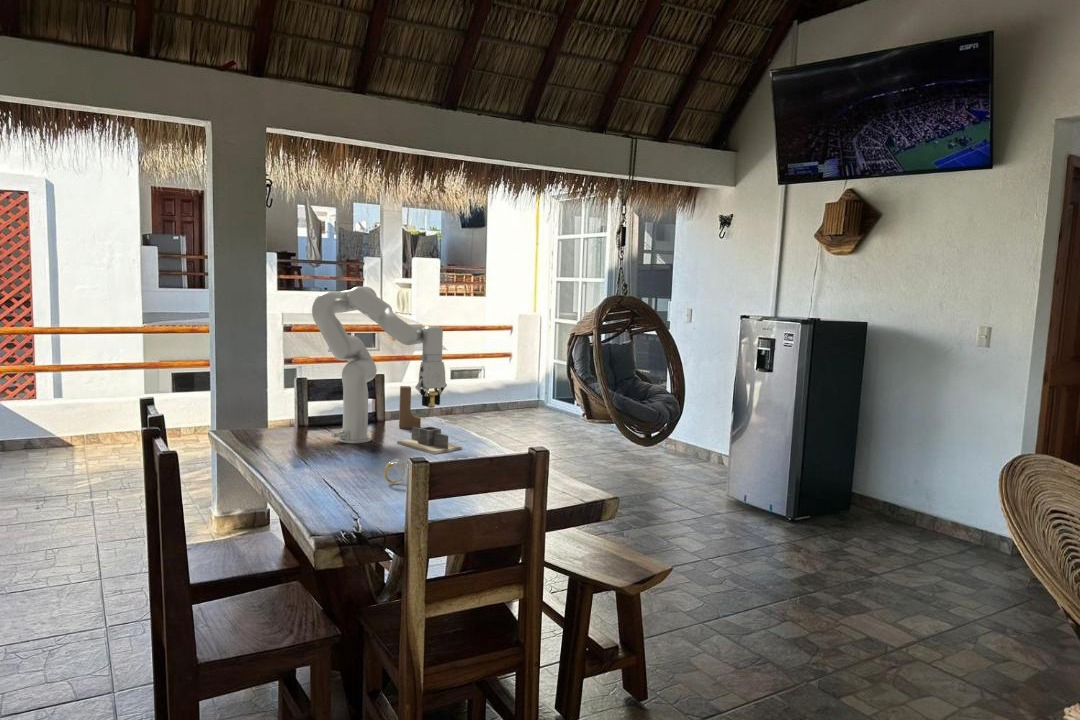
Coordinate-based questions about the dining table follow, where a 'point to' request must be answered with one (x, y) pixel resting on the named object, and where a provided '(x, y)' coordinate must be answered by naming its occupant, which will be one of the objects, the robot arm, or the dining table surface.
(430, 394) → the round gold knob
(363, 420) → the robot arm
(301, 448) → the dining table surface
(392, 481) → the ring
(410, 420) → the wooden block
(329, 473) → the dining table surface
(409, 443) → the hinge base
